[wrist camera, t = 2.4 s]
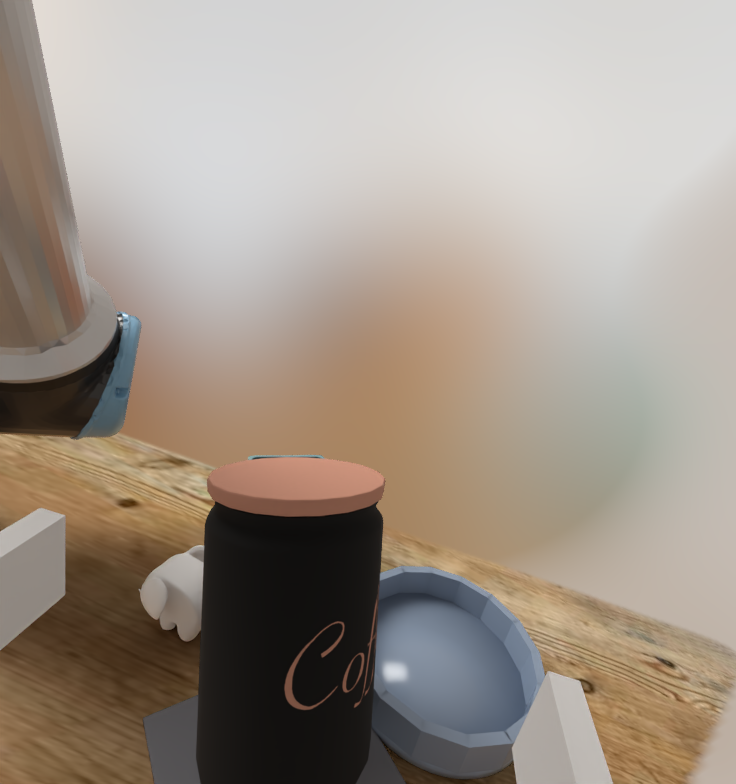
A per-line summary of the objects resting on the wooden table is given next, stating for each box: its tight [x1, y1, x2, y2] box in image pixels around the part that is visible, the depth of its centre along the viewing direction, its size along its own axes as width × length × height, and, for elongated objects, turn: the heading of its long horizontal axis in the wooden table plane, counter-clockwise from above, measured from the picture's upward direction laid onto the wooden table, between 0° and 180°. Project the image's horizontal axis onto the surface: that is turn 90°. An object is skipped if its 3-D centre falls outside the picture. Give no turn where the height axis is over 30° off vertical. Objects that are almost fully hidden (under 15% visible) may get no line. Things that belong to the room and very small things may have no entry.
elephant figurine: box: [139, 545, 204, 642], centre depth 36 cm, size 7×8×6 cm
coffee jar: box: [196, 457, 385, 784], centre depth 27 cm, size 11×11×18 cm
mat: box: [143, 695, 406, 784], centre depth 28 cm, size 14×14×1 cm
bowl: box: [372, 566, 545, 779], centre depth 37 cm, size 17×17×4 cm
